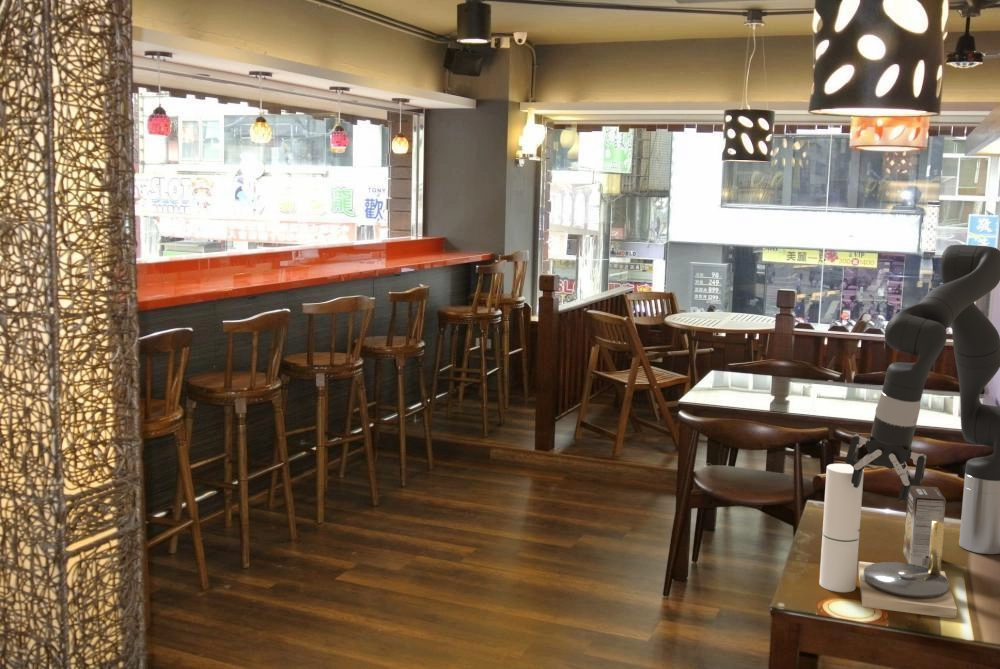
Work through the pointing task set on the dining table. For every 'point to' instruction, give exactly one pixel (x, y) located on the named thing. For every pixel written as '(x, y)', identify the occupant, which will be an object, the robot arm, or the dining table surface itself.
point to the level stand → (906, 600)
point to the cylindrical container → (840, 529)
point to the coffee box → (921, 522)
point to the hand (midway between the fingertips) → (878, 493)
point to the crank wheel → (912, 572)
